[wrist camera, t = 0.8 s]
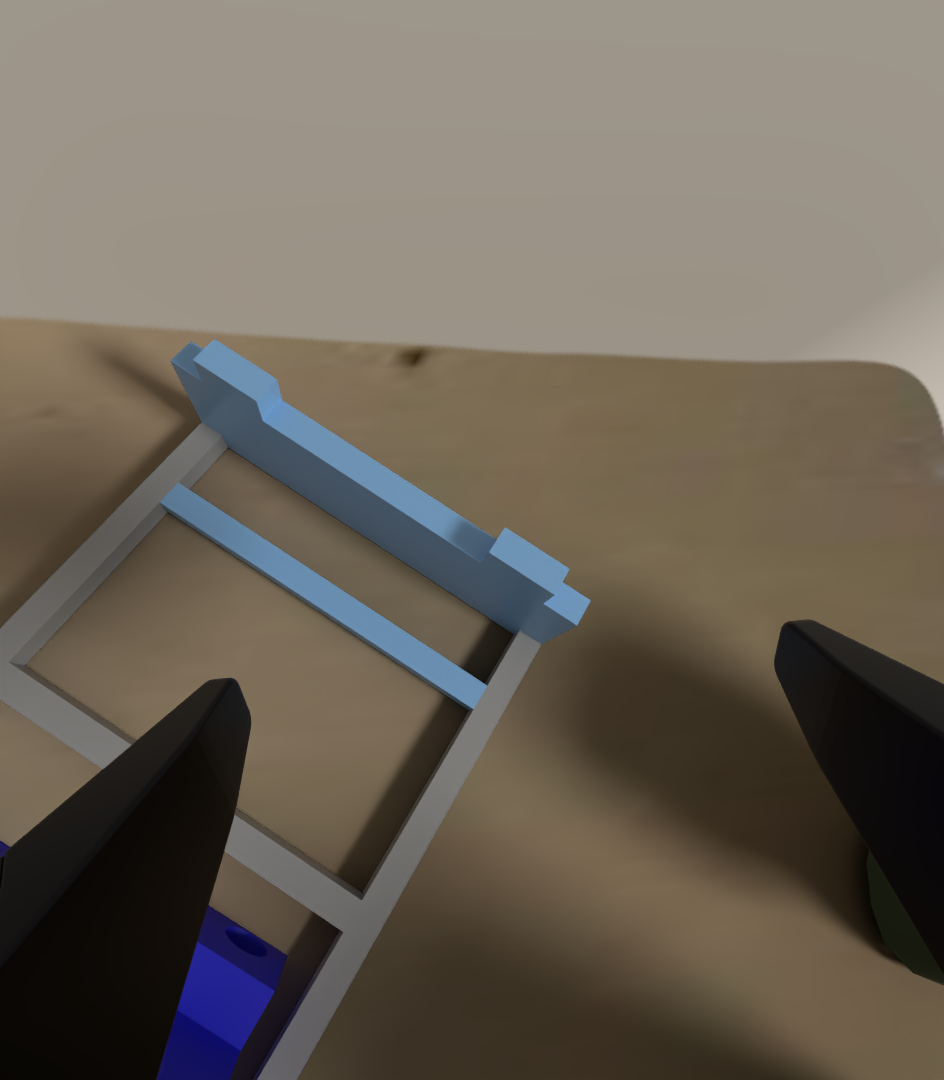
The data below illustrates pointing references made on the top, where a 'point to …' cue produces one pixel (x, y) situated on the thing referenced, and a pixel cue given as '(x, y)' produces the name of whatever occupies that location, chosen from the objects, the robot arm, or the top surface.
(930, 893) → the robot arm
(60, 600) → the blue grey rack
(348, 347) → the top surface
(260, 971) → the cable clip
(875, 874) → the character mug
